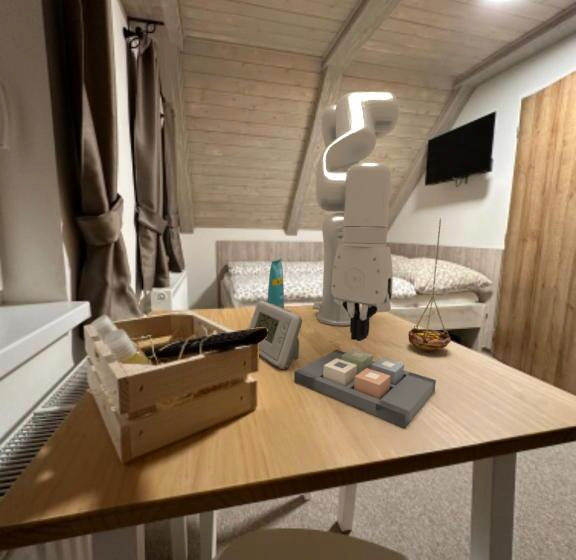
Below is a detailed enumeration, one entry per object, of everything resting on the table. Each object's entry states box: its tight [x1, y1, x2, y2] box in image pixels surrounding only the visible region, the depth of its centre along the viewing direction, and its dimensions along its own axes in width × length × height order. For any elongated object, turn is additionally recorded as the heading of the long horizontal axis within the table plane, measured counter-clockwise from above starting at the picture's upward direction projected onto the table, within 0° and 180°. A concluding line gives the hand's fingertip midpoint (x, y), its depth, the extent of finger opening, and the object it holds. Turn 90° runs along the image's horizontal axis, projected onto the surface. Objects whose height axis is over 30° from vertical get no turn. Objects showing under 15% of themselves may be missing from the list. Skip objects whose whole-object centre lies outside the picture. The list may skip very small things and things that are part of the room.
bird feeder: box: [407, 217, 451, 351], centre depth 72 cm, size 9×9×30 cm
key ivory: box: [323, 358, 357, 386], centre depth 56 cm, size 4×4×3 cm
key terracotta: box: [354, 368, 391, 399], centre depth 52 cm, size 4×4×3 cm
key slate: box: [371, 357, 405, 385], centre depth 56 cm, size 4×4×3 cm
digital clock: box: [248, 300, 303, 370], centre depth 68 cm, size 16×9×11 cm, turn 23°
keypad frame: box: [293, 349, 437, 429], centre depth 56 cm, size 20×14×2 cm
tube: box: [266, 258, 285, 309], centre depth 83 cm, size 7×5×19 cm, turn 169°
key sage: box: [342, 349, 374, 373], centre depth 60 cm, size 4×4×3 cm
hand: (359, 338), depth 59 cm, fingers closed
